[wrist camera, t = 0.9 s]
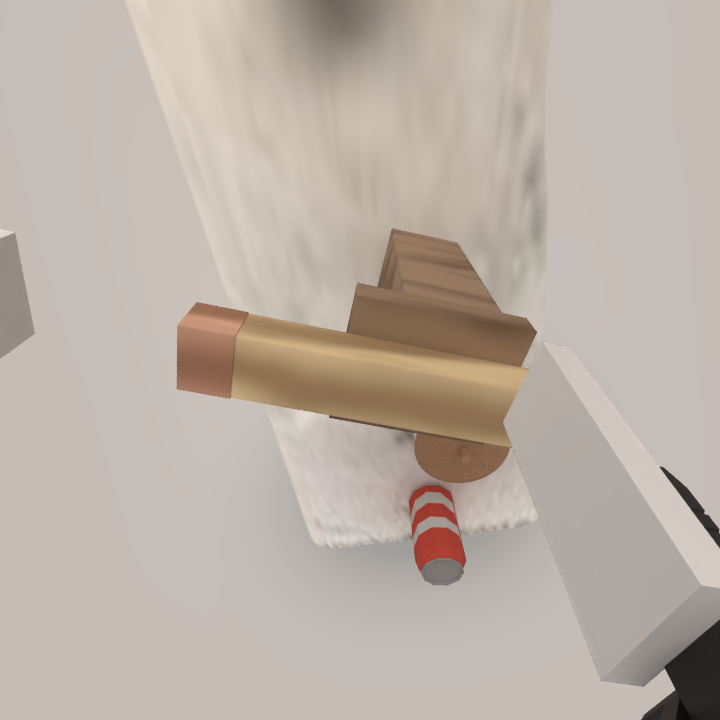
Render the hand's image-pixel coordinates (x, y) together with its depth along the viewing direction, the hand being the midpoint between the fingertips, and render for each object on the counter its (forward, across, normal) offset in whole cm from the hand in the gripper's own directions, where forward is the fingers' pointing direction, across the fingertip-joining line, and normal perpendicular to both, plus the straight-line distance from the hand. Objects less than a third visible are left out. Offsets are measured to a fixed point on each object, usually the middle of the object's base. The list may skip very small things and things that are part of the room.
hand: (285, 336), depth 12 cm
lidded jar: (+36, +18, -26) cm, 48 cm away
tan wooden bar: (+14, +5, -9) cm, 17 cm away
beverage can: (+36, +20, -42) cm, 59 cm away
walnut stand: (+36, +8, -10) cm, 38 cm away
